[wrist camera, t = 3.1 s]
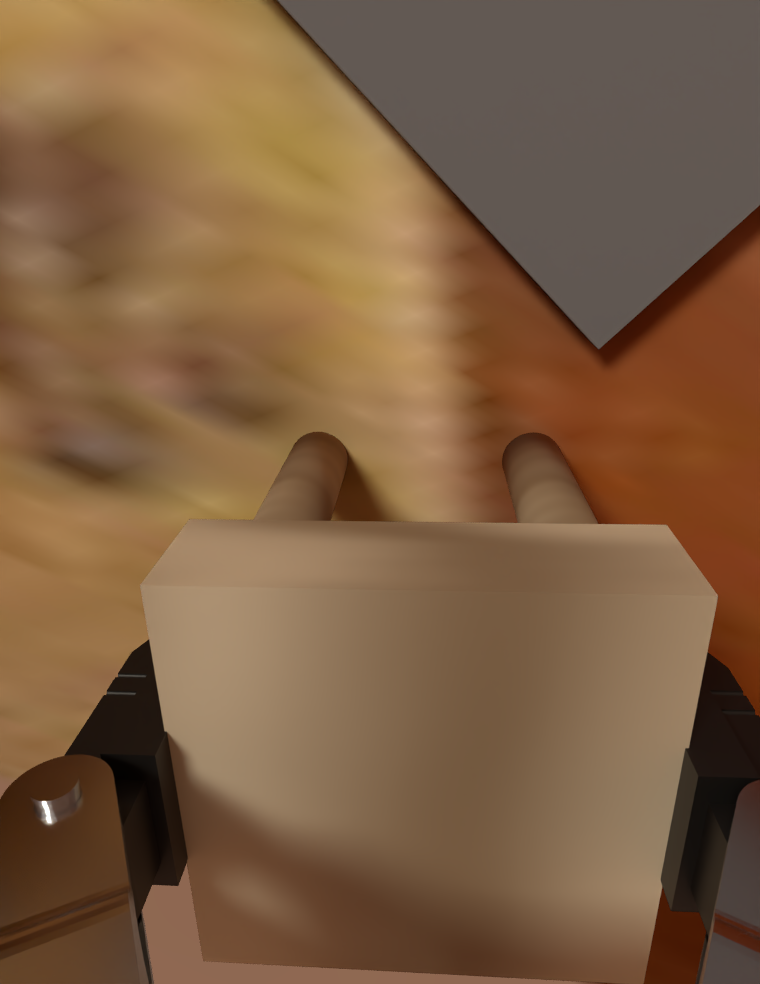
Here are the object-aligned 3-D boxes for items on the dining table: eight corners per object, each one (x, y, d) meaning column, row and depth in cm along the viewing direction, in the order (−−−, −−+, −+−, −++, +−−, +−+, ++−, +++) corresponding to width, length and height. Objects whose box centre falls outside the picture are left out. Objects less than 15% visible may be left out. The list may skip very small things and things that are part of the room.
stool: (289, 670, 17) (203, 960, 11) (268, 413, 15) (140, 585, 8) (559, 677, 17) (643, 984, 10) (585, 413, 14) (718, 595, 8)
